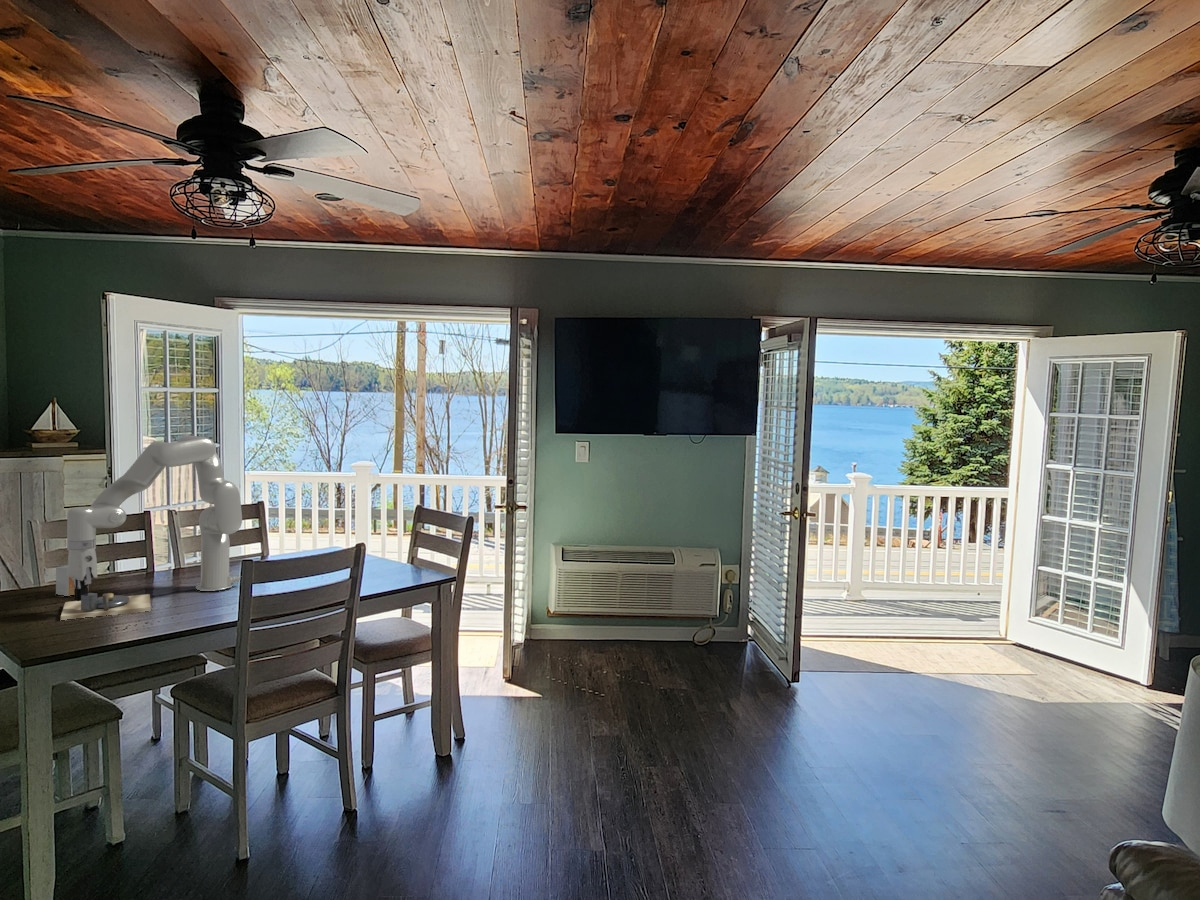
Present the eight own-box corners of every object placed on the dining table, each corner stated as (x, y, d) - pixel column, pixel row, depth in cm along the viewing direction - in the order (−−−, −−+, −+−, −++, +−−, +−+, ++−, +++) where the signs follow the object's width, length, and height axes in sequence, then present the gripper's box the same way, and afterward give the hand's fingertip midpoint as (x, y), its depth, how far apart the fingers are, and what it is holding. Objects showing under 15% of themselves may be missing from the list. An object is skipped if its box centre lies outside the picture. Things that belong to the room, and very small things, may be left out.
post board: (149, 598, 246) (149, 580, 246) (150, 611, 231) (150, 592, 231) (65, 606, 232) (65, 587, 232) (60, 621, 218) (60, 600, 217)
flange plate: (106, 597, 238) (106, 582, 238) (138, 599, 237) (138, 585, 237) (68, 609, 223) (68, 594, 223) (102, 611, 222) (102, 596, 222)
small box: (68, 597, 242) (68, 568, 242) (55, 596, 244) (55, 566, 243) (89, 592, 250) (89, 563, 250) (76, 590, 251) (76, 562, 251)
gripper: (105, 546, 224) (105, 601, 225) (83, 540, 231) (83, 593, 232) (79, 549, 217) (78, 606, 218) (57, 543, 225) (57, 598, 226)
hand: (81, 599), depth 225 cm, fingers closed
